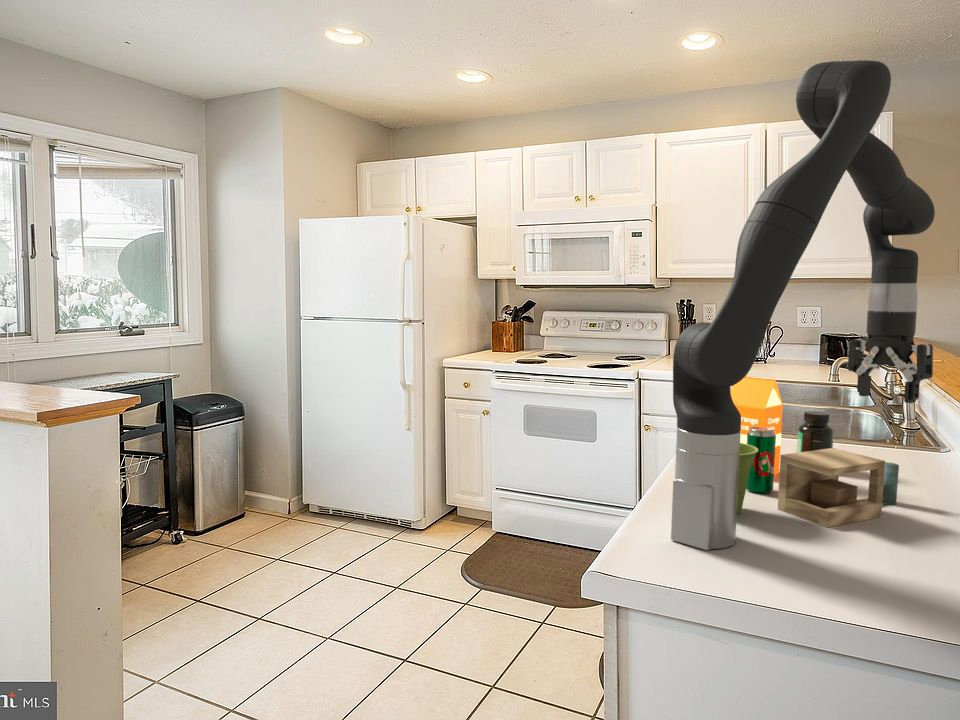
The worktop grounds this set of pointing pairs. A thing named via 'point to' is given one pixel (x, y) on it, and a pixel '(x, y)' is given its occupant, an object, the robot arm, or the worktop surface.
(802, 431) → the supplement bottle
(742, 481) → the plant pot
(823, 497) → the tethered block
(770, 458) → the soda can
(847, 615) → the worktop surface
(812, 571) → the worktop surface
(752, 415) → the orange juice
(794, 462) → the box
